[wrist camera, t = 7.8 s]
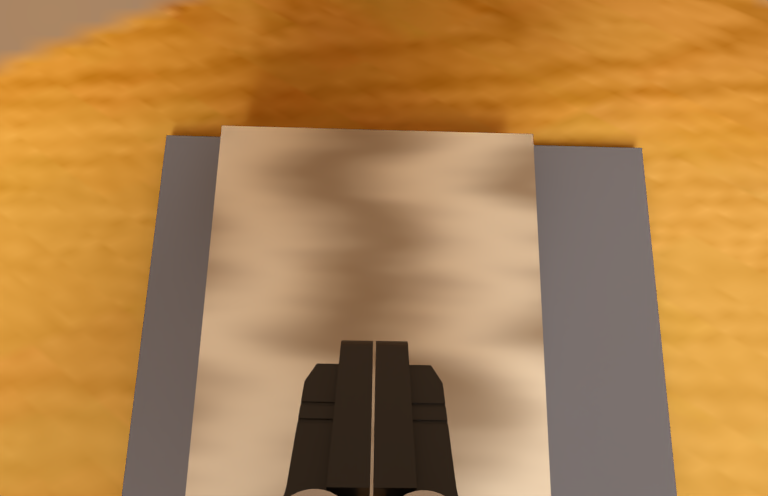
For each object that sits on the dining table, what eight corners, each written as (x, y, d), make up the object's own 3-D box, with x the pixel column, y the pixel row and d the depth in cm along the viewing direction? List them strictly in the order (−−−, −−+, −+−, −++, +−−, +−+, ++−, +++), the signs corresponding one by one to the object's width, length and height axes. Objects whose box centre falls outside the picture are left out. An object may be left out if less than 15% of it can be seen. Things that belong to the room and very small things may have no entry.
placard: (536, 599, 15) (517, 156, 18) (557, 628, 13) (533, 133, 17) (195, 594, 15) (236, 149, 18) (172, 623, 13) (221, 125, 17)
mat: (636, 152, 19) (641, 147, 19) (705, 863, 14) (715, 877, 14) (171, 140, 19) (166, 135, 18) (83, 860, 14) (74, 874, 14)
